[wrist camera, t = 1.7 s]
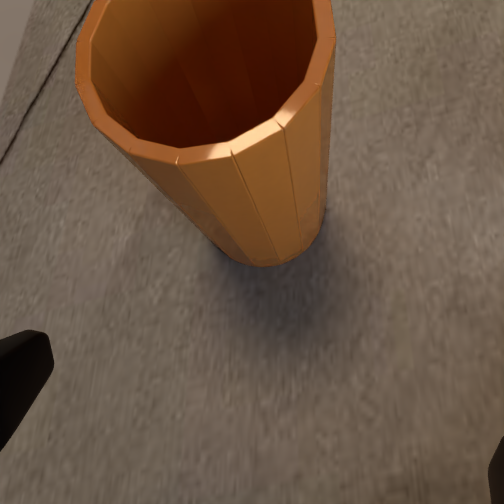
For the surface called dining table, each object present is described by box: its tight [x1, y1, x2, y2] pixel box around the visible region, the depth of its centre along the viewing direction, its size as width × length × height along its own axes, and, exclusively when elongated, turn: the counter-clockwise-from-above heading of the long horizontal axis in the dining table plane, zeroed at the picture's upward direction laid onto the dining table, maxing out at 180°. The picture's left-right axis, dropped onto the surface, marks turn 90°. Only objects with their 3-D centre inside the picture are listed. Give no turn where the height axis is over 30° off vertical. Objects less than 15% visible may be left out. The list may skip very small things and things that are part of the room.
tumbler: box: [75, 0, 336, 267], centre depth 16 cm, size 7×7×13 cm
